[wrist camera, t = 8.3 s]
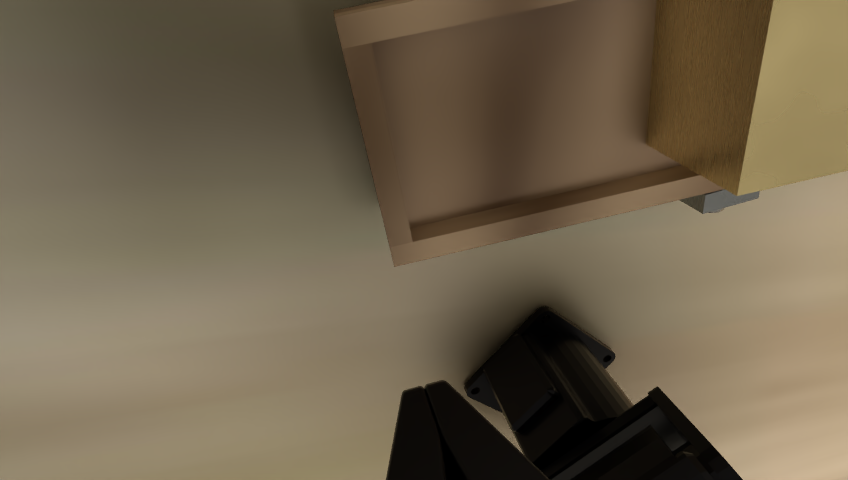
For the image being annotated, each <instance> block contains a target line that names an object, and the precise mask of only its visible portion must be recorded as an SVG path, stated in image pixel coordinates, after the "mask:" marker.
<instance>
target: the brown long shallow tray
mask: <svg viewBox="0 0 848 480" xmlns="http://www.w3.org/2000/svg"><path fill="white" fill-rule="evenodd" d="M656 4H657V0H383V1H378V2H373V3H368V4H363V5H358V6H353V7H348V8H343V9H338V10H334V18H335V23H336V27H337V31H338V35H339V39H340V43H341V47H342V52H343V56H344V60H345V64H346V68H347V72H348V76H349V81H350V85H351V89H352V93H353V97H354V101H355V105H356V110H357V114H358V118H359V122H360V126H361V130H362V134H363V139H364V143H365V147H366V151H367V155H368V159H369V164H370V168H371V172H372V176H373V180H374V184H375V188H376V193H377V197H378V201H379V205H380V209H381V213H382V217H383V222H384V226H385V230H386V234H387V238H388V242H389V246H390V251H391V255H392V259H393V263H394V267H396V266H400V265H404V264H409V263H413V262H417V261H421V260H426V259H430V258H434V257H438V256H443V255H447V254H451V253H455V252H460V251H464V250H468V249H472V248H477V247H481V246H485V245H489V244H494V243H498V242H502V241H506V240H511V239H515V238H519V237H523V236H528V235H532V234H536V233H540V232H545V231H549V230H553V229H557V228H562V227H566V226H570V225H574V224H579V223H583V222H587V221H591V220H596V219H600V218H604V217H608V216H613V215H617V214H621V213H625V212H630V211H634V210H638V209H642V208H647V207H651V206H655V205H659V204H664V203H668V202H672V201H676V200H681V199H685V198H689V197H693V196H698V195H702V194H706V193H710V192H715V191H719V190H723V188H722V187H720V186H718V185H716V184H715V183H713V182H711V181H709V180H708V179H706V178H704V177H702V176H701V175H699V174H697V173H695V172H694V171H692V170H690V169H688V168H686V167H685V166H683V165H681V164H679V163H678V162H676V161H674V160H672V159H671V158H669V157H667V156H665V155H664V154H662V153H660V152H658V151H656V150H655V149H653V148H651V147H649V146H648V145H646V135H647V122H648V109H649V96H650V83H651V69H652V56H653V43H654V30H655V17H656Z"/></svg>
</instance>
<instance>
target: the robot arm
mask: <svg viewBox="0 0 848 480" xmlns="http://www.w3.org/2000/svg"><path fill="white" fill-rule="evenodd" d="M545 315H546V316H545ZM543 316H545V317H544V318H542V317H543ZM614 359H615V354H614V352H613V351H612V350H611V349H610V348H609V347H608V346H606V345H605V344H603V343H602V342H600V341H599V340H597V339H596V338H594V337H593V336H591V335H590V334H588V333H587V332H585V331H584V330H582V329H581V328H579V327H578V326H576V325H575V324H573V323H572V322H570V321H569V320H567V319H566V318H564V317H563V316H561V315H560V314H558V313H557V312H555V311H554V310H552V309H551V308H549V307H546V306H545V307H541V308H539V309H537V310H536V311H535V312H534V313H533V314H532V315H531V316H530V317H529V318H528V319H527V320H526V322H525V323H524V324H523V325H522V326H521V327H520V328H519V329H518V330H517V331H516V332H515V333H514V334H513V335H512V336H511V337H510V338H509V339H508V340H507V341H506V342H505V343H504V344H503V345H502V346H501V347H500V348H499V349H498V350H497V352H496V353H495V354H494V355H493V356H492V357H491V358H490V359H489V360H488V361H487V362H486V363H485V364H484V365H483V366H482V367H481V368H480V369H479V370H478V371H477V372H476V373H475V374H474V375H473V376H472V377H471V378H470V379H469V380H468V382H467V383H466V384H465V387H464V388H465V391H466V393H467V396H469V397H470V398H472V399H474V400H476V401H478V402H481V403H483V404H485V405H487V406H489V407H491V408H493V409H495V410H498V411H500V412H502V413H503V414H504V416H505V418H506V420H507V422H508V424H509V426H510V428H511V430H512V431H513V433H514V435H515V438H516V440H517V442H518V444H519V446H520V448H521V450H522V452H523V454H524V455H523V454H522V453H521V452H520V451H519V450H518V449H517V448H516V447H515V446H514V445H513V444H512V443H511V442H510V441H509V440H507V439H506V438H505V437H504V436H503V435H502V434H501V433H500V432H499V431H498V430H497V429H496V428H495V427H494V426H493V425H492V424H491V423H490V422H489V421H488V420H486V419H485V418H484V417H483V416H482V415H481V414H480V413H479V412H478V411H477V410H476V409H475V408H474V407H473V406H472V405H471V404H470V403H469V402H468V401H466V400H465V399H464V398H463V397H462V396H461V395H460V394H459V393H458V392H457V391H456V390H455V389H454V388H453V387H452V386H451V385H450V384H449V383H447V382H446V381H444V380H441V381H437V382H433V383H429V384H427V385H426V386H425V387H424V388H423V387H422V386H418V387H415V388H411V389H407V390H404V391H403V393H402V395H401V401H400V406H399V412H398V417H397V422H396V428H395V433H394V439H393V444H392V450H391V455H390V461H389V466H388V472H387V477H386V480H743V479H742V478H741V477H740V476H739V475H738V474H737V472H736V471H735V470H734V469H733V468H732V467H731V466H730V464H729V463H728V462H727V461H726V460H725V459H724V458H723V457H722V455H721V454H720V453H719V452H718V451H717V450H716V449H715V448H714V447H713V446H712V444H711V443H710V442H709V441H708V440H707V439H706V438H705V437H704V436H703V435H702V434H701V433H700V431H699V430H698V429H697V428H696V427H695V426H694V425H693V424H692V423H691V422H690V421H689V420H688V419H687V417H686V416H685V415H684V414H683V413H682V412H681V411H680V410H679V409H678V408H677V407H676V406H675V405H674V403H673V402H672V401H671V400H670V399H669V398H668V397H667V396H666V395H665V394H664V393H663V392H662V391H661V389H660V388H659V387H658V386H657V387H656V388H654V389H653V390H651V391H650V392H648V396H647V397H645V398H644V399H642V400H641V401H639V402H638V403H637V404H635V405H633V404H632V403H631V401H630V400H629V399H628V398H627V396H626V395H625V394H624V392H623V391H622V390H621V389H620V387H619V386H618V385H617V384H616V382H615V381H614V380H613V378H612V377H611V376H610V375H609V373H608V372H607V371H606V370H605V368H607V367H608V366H609V365H610V364H611V363H612V362H613V361H614ZM473 388H475V389H473Z"/></svg>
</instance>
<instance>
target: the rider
mask: <svg viewBox="0 0 848 480" xmlns="http://www.w3.org/2000/svg"><path fill="white" fill-rule="evenodd" d="M646 145H648V146H649V147H651V148H653V149H655V150H656V151H658V152H660V153H662V154H664V155H665V156H667V157H669V158H671V159H672V160H674V161H676V162H678V163H679V164H681V165H683V166H685V167H686V168H688V169H690V170H692V171H694V172H695V173H697V174H699V175H701V176H702V177H704V178H706V179H708V180H709V181H711V182H713V183H715V184H716V185H718V186H720V187H722V188H723V189H725V190H727V191H729V192H731V193H732V194H734V195H736V196H740V195H744V194H748V193H753V192H757V191H761V190H766V189H770V188H774V187H779V186H783V185H787V184H792V183H796V182H800V181H805V180H809V179H813V178H818V177H822V176H826V175H831V174H835V173H839V172H844V171H848V0H657V4H656V17H655V30H654V43H653V56H652V69H651V83H650V96H649V109H648V122H647V135H646Z"/></svg>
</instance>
